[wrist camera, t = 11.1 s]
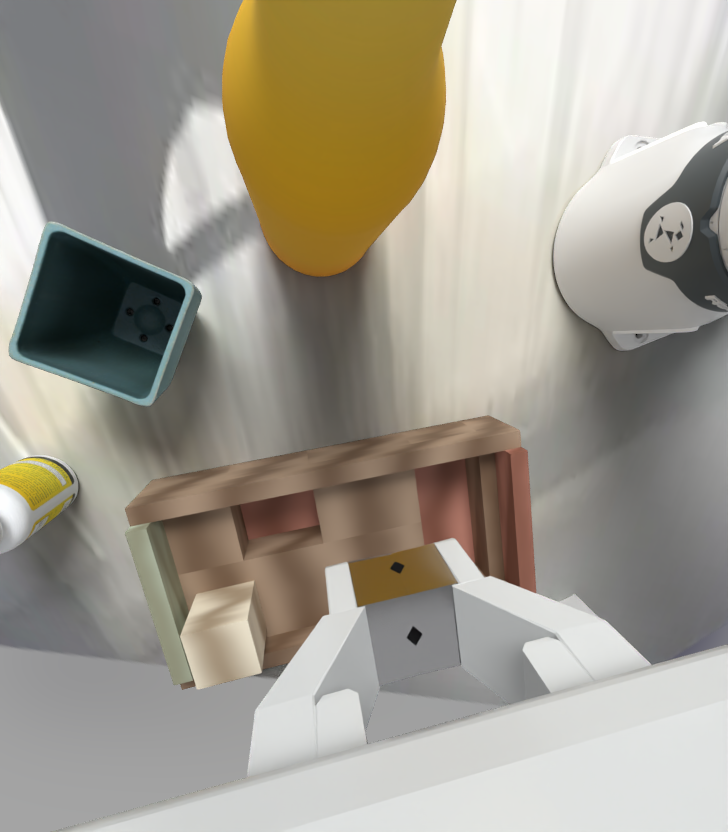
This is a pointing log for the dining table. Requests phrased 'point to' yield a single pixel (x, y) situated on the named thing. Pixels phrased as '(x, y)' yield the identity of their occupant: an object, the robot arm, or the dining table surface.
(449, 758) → the robot arm
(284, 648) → the tray
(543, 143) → the dining table surface
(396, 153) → the beer bottle
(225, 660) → the ash block
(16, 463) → the supplement bottle
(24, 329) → the flower pot
